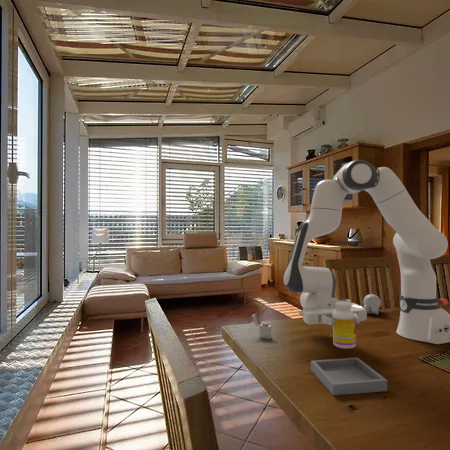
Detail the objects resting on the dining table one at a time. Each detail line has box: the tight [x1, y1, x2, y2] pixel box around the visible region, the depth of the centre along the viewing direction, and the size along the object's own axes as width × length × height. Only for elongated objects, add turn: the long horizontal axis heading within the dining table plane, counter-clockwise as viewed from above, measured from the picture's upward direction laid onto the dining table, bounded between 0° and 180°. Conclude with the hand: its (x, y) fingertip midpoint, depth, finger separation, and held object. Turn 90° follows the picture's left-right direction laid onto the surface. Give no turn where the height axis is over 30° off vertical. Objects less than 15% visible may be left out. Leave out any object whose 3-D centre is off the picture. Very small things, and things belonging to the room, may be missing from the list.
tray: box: [310, 357, 388, 396], centre depth 89 cm, size 14×14×3 cm
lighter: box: [251, 313, 272, 340], centre depth 123 cm, size 7×2×8 cm, turn 59°
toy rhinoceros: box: [362, 293, 382, 315], centre depth 152 cm, size 7×12×8 cm, turn 142°
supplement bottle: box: [332, 302, 357, 350], centre depth 103 cm, size 7×7×13 cm
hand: (345, 321), depth 102 cm, fingers closed on supplement bottle, 6 cm apart
